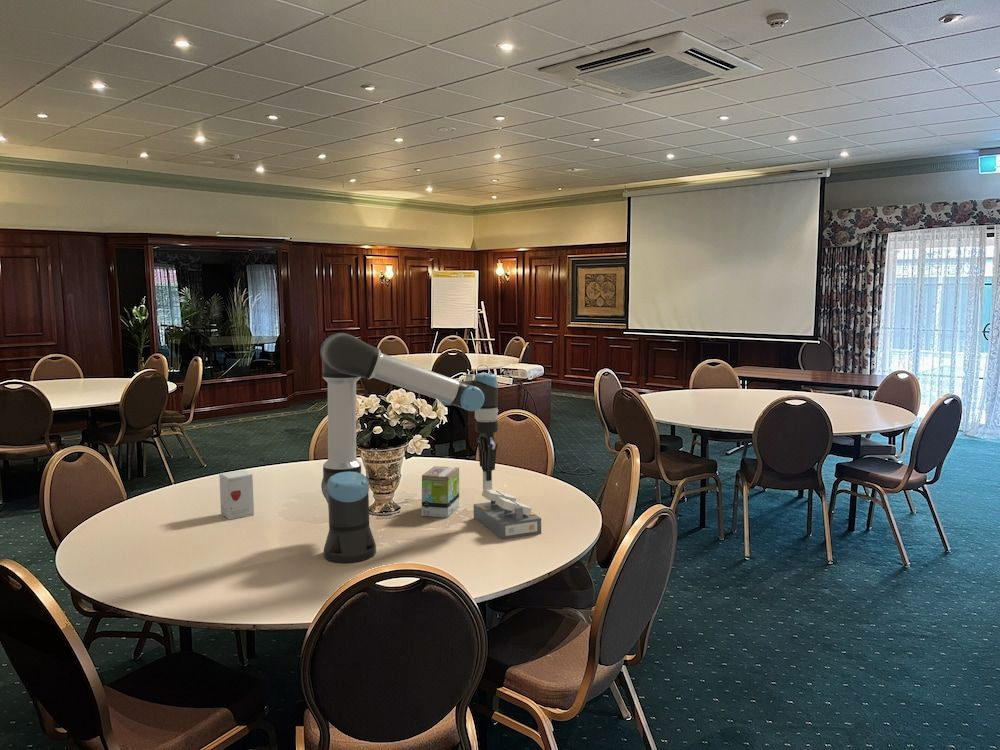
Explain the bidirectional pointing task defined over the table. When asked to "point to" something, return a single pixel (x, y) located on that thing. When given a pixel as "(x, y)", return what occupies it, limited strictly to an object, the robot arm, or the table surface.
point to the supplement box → (236, 494)
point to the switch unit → (506, 520)
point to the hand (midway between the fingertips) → (487, 489)
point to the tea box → (440, 491)
